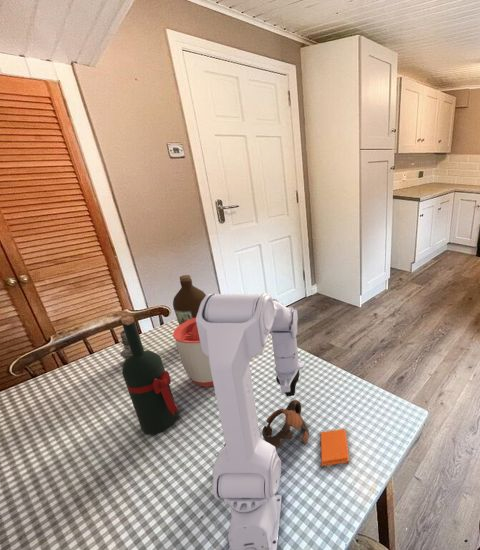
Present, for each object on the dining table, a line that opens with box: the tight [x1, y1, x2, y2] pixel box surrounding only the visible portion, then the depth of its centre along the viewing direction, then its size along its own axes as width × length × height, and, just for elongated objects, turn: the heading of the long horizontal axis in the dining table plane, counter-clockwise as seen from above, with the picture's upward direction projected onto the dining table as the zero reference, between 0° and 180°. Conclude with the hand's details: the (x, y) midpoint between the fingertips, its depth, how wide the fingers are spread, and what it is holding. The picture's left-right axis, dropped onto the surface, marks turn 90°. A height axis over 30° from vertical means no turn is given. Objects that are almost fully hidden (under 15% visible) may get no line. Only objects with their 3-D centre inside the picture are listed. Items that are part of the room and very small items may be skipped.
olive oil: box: [172, 274, 207, 326], centre depth 106 cm, size 11×11×25 cm
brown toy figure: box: [261, 399, 310, 449], centre depth 73 cm, size 12×10×8 cm
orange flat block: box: [320, 428, 350, 467], centre depth 70 cm, size 8×6×1 cm
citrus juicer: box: [172, 317, 214, 387], centre depth 90 cm, size 16×17×20 cm
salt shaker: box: [119, 328, 132, 362], centre depth 98 cm, size 6×6×12 cm
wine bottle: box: [120, 315, 180, 436], centre depth 71 cm, size 8×10×30 cm
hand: (290, 394), depth 80 cm, fingers closed
